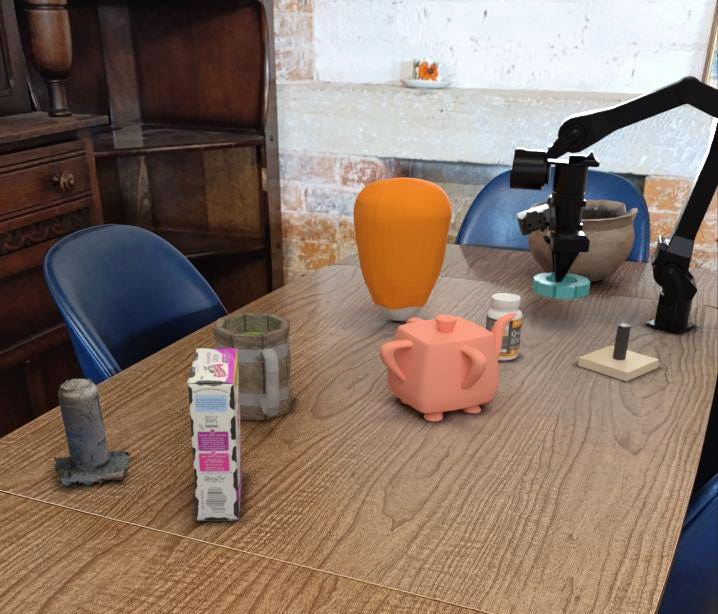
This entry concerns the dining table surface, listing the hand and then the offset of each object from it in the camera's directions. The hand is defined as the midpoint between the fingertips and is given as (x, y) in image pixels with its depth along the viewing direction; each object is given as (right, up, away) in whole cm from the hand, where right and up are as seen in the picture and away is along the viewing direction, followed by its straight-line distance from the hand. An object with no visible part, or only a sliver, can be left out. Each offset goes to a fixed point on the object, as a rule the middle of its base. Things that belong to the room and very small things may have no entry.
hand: (557, 279), depth 161 cm
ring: (0, -3, -3) cm, 4 cm away
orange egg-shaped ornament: (-29, -8, -1) cm, 30 cm away
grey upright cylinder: (-68, -36, -55) cm, 95 cm away
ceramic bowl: (+10, +6, +27) cm, 29 cm away
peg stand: (+5, -19, -20) cm, 28 cm away
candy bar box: (-52, -39, -60) cm, 89 cm away
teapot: (-24, -26, -35) cm, 50 cm away
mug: (-50, -27, -38) cm, 69 cm away
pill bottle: (-13, -17, -16) cm, 27 cm away
